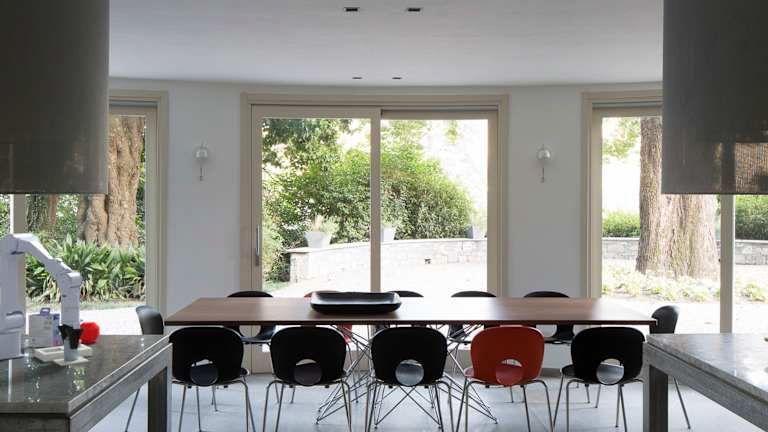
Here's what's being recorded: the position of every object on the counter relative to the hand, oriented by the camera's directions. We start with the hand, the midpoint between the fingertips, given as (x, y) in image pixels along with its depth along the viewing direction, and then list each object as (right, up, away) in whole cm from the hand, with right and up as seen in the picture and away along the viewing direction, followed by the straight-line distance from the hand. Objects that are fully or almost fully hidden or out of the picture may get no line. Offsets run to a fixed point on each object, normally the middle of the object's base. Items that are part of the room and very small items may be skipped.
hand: (70, 347), depth 246 cm
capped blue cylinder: (0, -4, 0) cm, 4 cm away
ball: (-9, -5, +35) cm, 37 cm away
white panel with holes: (-7, -5, +9) cm, 13 cm away
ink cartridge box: (-22, -5, +28) cm, 36 cm away
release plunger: (-3, -4, +12) cm, 13 cm away
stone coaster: (0, -5, 0) cm, 5 cm away
